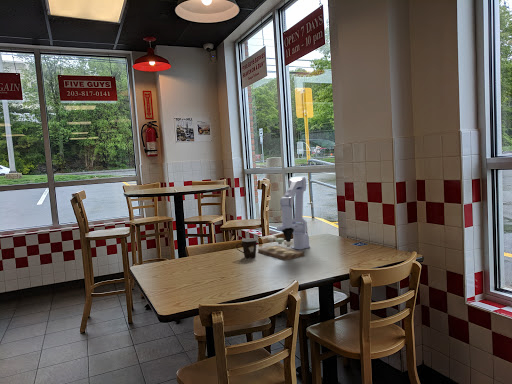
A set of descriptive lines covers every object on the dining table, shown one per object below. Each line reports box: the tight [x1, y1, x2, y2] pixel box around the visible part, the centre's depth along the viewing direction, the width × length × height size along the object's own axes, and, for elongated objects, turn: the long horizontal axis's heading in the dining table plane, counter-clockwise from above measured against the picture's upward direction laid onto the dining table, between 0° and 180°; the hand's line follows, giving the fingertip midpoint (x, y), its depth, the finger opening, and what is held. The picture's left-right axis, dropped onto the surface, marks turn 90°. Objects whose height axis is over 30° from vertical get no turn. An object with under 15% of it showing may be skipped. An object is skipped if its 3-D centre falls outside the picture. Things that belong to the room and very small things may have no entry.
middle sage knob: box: [275, 237, 285, 245], centre depth 224 cm, size 5×5×3 cm
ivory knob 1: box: [267, 235, 277, 243], centre depth 230 cm, size 5×5×3 cm
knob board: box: [257, 245, 305, 261], centre depth 224 cm, size 14×26×2 cm, turn 34°
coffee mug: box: [235, 237, 258, 259], centre depth 220 cm, size 12×9×10 cm
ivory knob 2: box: [283, 240, 294, 248], centre depth 217 cm, size 5×5×3 cm
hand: (288, 241), depth 217 cm, fingers closed, pressing on ivory knob 2
